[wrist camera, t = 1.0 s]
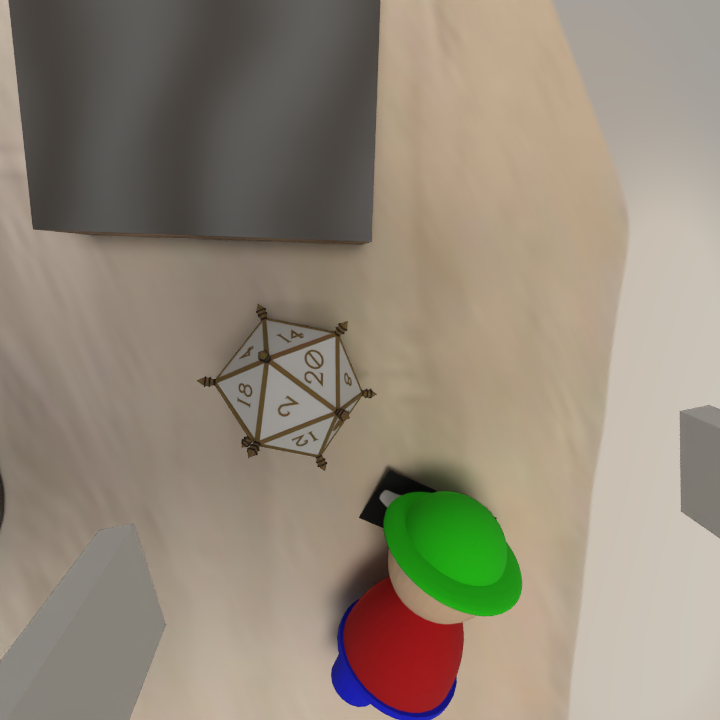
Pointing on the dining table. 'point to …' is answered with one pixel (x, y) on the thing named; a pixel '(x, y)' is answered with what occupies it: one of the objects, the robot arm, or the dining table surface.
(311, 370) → the game die
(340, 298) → the dining table surface
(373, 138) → the dark gray square base
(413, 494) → the toy figure
